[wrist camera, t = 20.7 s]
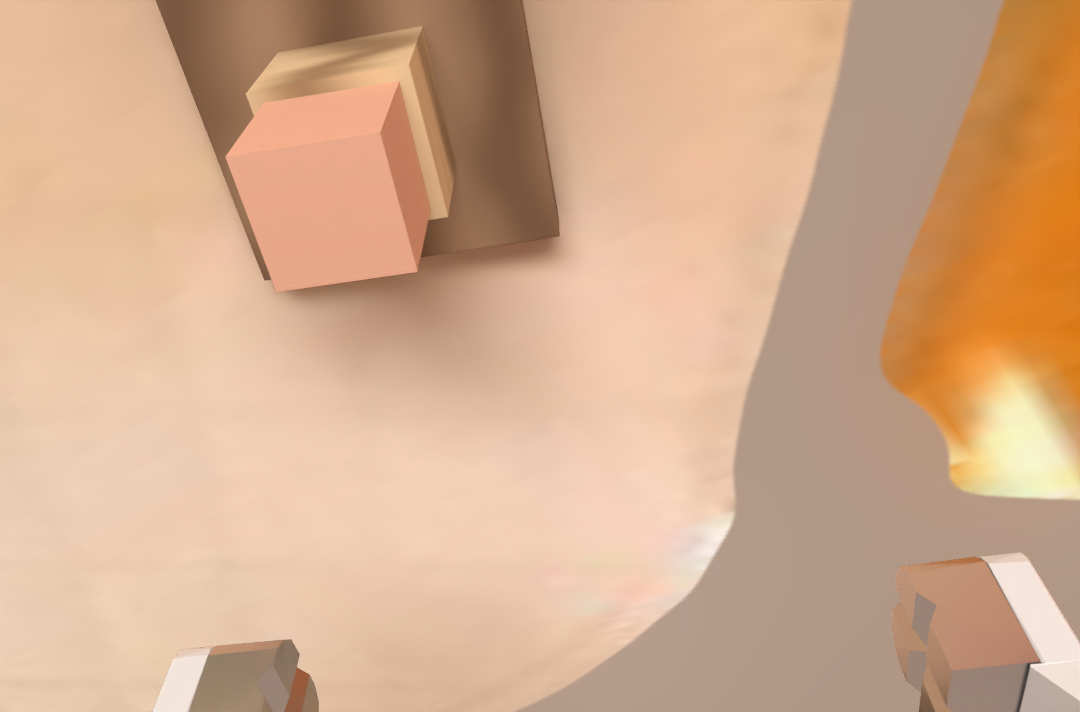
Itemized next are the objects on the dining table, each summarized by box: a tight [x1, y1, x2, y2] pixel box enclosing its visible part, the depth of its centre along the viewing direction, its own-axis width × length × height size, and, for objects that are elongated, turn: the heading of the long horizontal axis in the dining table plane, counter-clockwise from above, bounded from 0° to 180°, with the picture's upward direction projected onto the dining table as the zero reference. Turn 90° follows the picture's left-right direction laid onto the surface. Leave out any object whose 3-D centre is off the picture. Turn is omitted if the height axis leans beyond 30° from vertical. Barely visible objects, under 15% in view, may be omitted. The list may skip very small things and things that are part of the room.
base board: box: [156, 0, 559, 280], centre depth 39 cm, size 14×14×2 cm
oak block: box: [246, 26, 456, 220], centre depth 36 cm, size 6×6×5 cm
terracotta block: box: [226, 81, 431, 292], centre depth 32 cm, size 5×5×5 cm
